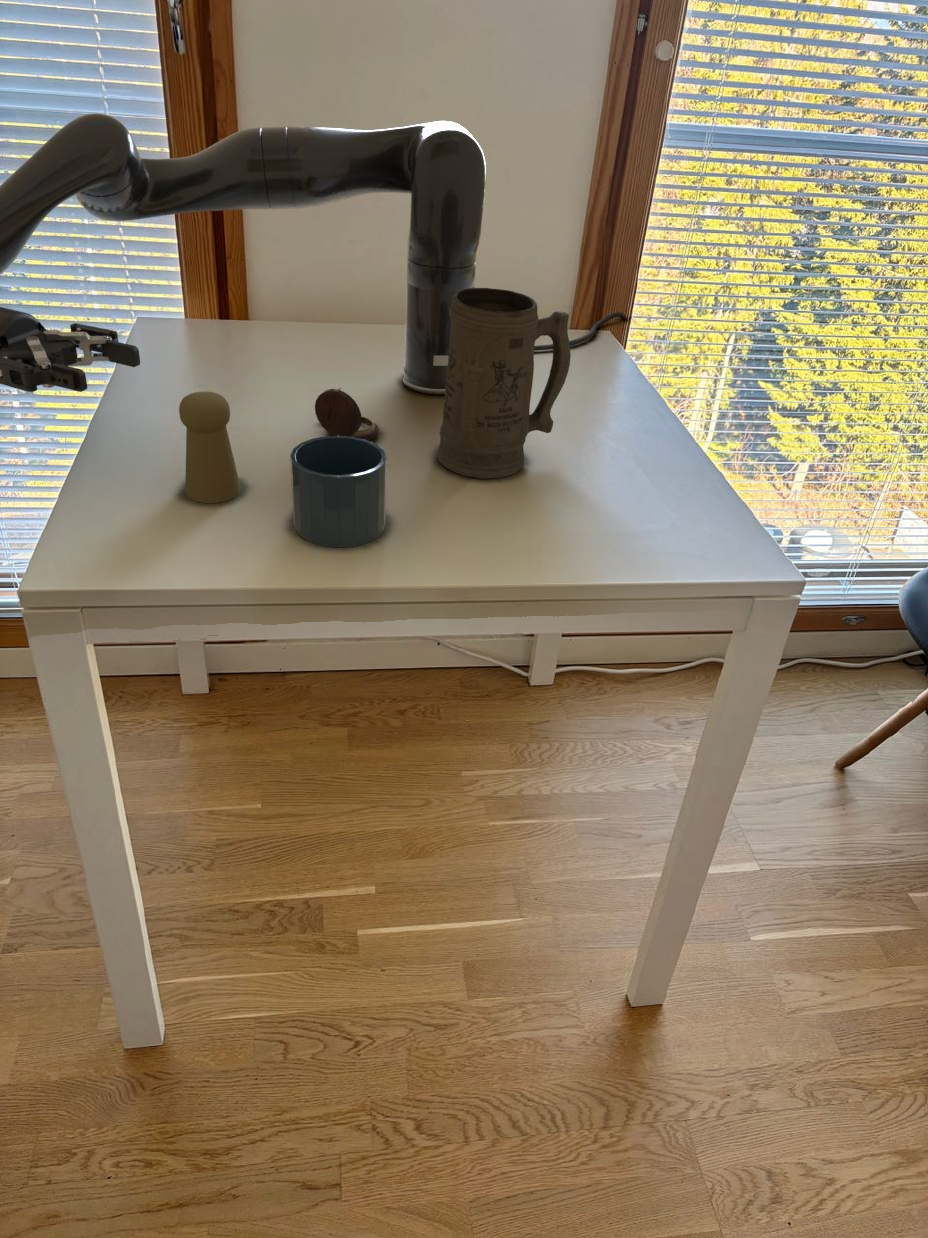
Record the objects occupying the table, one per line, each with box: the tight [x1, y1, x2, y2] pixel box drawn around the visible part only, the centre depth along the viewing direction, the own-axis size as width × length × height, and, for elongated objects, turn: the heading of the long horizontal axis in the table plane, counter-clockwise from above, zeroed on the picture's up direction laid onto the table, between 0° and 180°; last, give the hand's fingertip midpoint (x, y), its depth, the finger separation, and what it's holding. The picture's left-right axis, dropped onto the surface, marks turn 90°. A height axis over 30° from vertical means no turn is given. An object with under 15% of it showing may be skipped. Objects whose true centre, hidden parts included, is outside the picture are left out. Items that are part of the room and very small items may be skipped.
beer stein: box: [437, 287, 572, 479], centre depth 107 cm, size 15×11×20 cm
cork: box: [178, 391, 242, 504], centre depth 97 cm, size 6×6×11 cm
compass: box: [314, 387, 379, 441], centre depth 113 cm, size 8×8×7 cm
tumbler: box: [289, 435, 388, 548], centre depth 94 cm, size 10×10×8 cm
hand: (111, 368), depth 96 cm, fingers open, 8 cm apart
